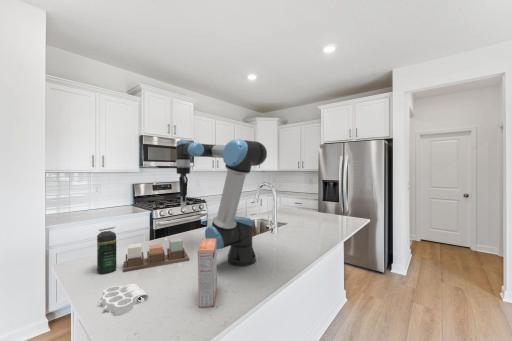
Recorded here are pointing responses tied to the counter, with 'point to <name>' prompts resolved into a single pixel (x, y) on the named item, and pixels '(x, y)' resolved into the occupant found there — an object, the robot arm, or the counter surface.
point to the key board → (154, 260)
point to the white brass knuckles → (122, 298)
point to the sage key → (175, 244)
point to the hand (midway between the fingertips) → (183, 206)
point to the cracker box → (207, 273)
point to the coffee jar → (106, 252)
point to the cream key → (134, 250)
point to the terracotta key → (155, 249)
